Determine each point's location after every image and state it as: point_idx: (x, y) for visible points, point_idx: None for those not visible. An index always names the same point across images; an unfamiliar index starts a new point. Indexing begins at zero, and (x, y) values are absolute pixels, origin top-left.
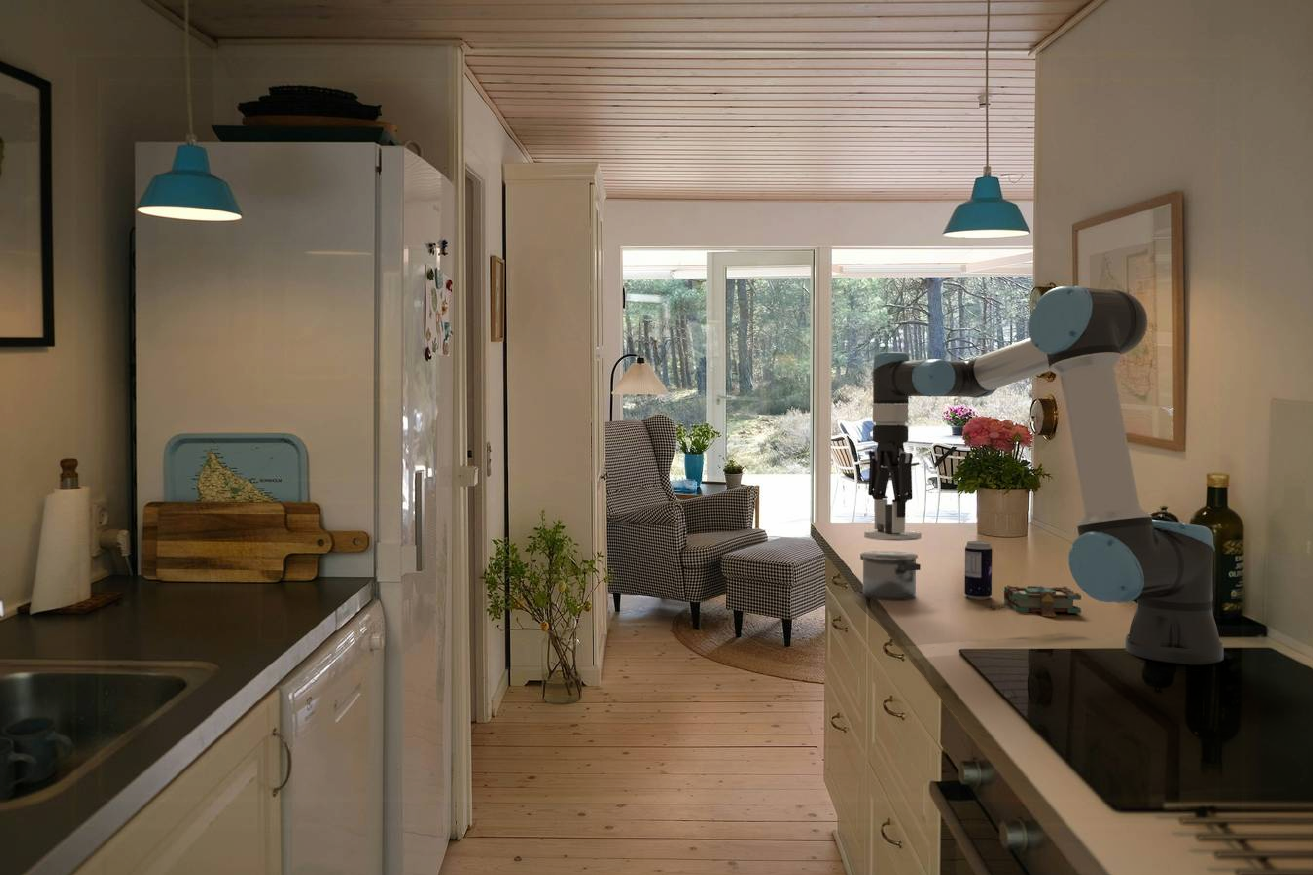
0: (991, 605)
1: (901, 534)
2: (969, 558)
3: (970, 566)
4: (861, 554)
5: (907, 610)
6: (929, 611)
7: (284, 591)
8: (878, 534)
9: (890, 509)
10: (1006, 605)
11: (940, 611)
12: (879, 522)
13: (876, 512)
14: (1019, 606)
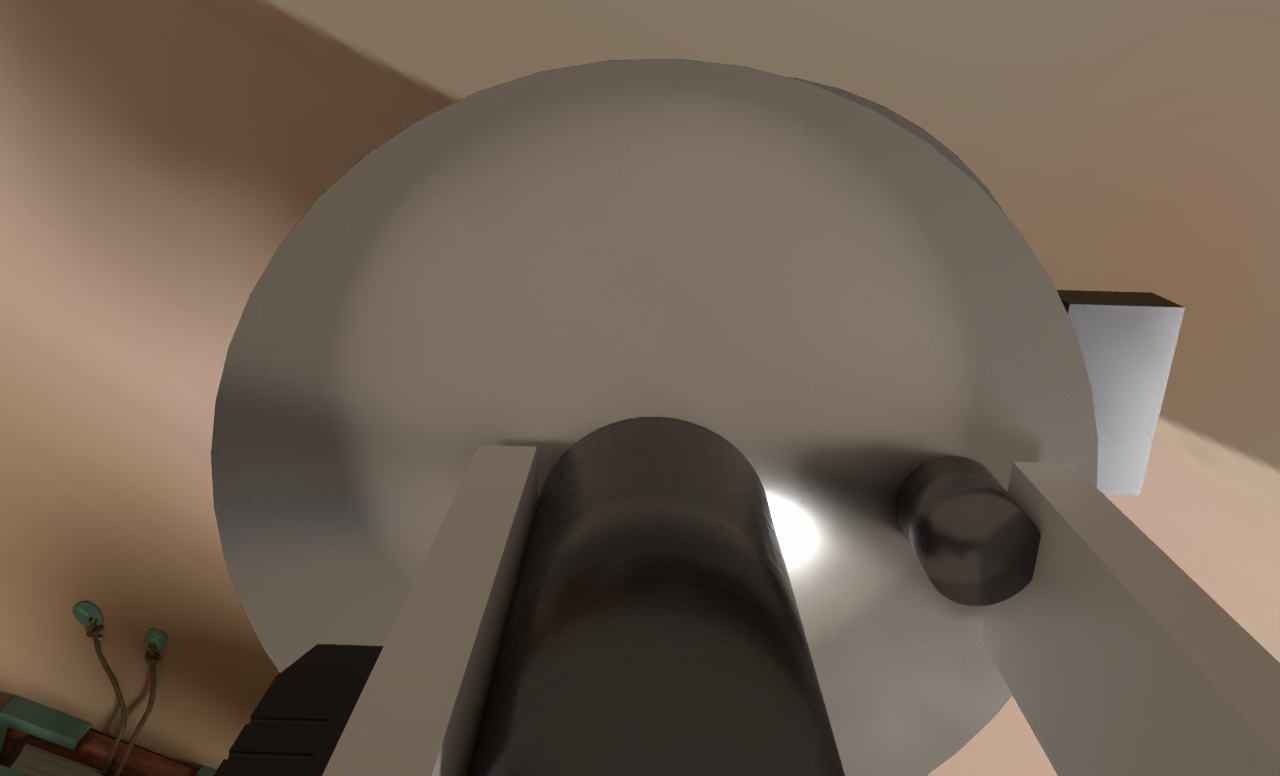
0: (147, 660)
1: (383, 503)
2: None
3: None
4: (890, 110)
5: (146, 83)
6: (85, 216)
7: None
8: (500, 165)
9: (532, 696)
10: (122, 726)
11: (75, 289)
12: (1049, 576)
13: (1168, 633)
14: (36, 748)
